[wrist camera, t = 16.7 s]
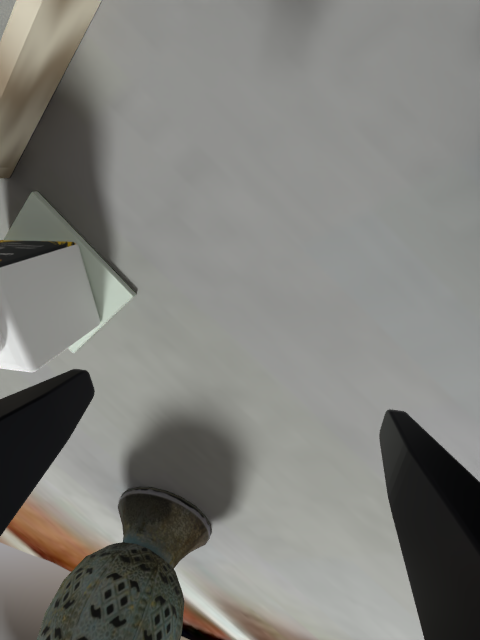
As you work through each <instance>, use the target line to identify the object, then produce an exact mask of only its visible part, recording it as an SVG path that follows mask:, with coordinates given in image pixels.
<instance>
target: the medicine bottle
mask: <svg viewBox="0 0 480 640" xmlns="http://www.w3.org/2000/svg"><path fill="white" fill-rule="evenodd" d="M99 324H100V318H99V315H98V311H97V308H96V304H95V301H94V297H93V294H92V290H91V287H90V283H89V280H88V276H87V273H86V269H85V266H84V262H83V259H82V255H81V252H80V248H79V246H78V244H77V243H76V242H64V241H16V240H1V241H0V368H2V369H9V370H17V371H25V372H35V371H37V370H38V369H40V368H41V367H43V366H44V365H45V364H47V363H48V362H49V361H51V360H52V359H53V358H55V357H56V356H58V355H59V354H60V353H62V352H63V351H64V350H66V349H67V348H68V347H70V346H71V345H73V344H74V343H75V342H77V341H78V340H79V339H81V338H82V337H83V336H85V335H86V334H88V333H89V332H90V331H92V330H93V329H94V328H96V327H97V326H99Z"/></svg>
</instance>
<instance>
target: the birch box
mask: <svg viewBox="0 0 480 640" xmlns="http://www.w3.org/2000/svg"><path fill="white" fill-rule="evenodd" d="M101 1H102V0H16V3H15V5H14V8H13V10H12V13H11V16H10V18H9V21H8V23H7V26H6V28H5V31H4V34H3V36H2V39H1V41H0V178H10V176H11V174H12V173H13V171H14V169H15V167H16V165H17V163H18V161H19V159H20V157H21V155H22V153H23V151H24V149H25V147H26V146H27V144H28V142H29V140H30V138H31V136H32V134H33V132H34V130H35V128H36V126H37V124H38V122H39V121H40V119H41V117H42V115H43V113H44V111H45V109H46V107H47V105H48V103H49V101H50V99H51V97H52V95H53V94H54V92H55V90H56V88H57V86H58V84H59V82H60V80H61V78H62V76H63V74H64V72H65V70H66V69H67V67H68V65H69V63H70V61H71V59H72V57H73V55H74V53H75V51H76V49H77V47H78V45H79V43H80V42H81V40H82V38H83V36H84V34H85V32H86V30H87V28H88V26H89V24H90V22H91V20H92V18H93V17H94V15H95V13H96V11H97V9H98V7H99V5H100V3H101Z"/></svg>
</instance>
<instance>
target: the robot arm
mask: <svg viewBox="0 0 480 640" xmlns="http://www.w3.org/2000/svg"><path fill="white" fill-rule="evenodd" d="M94 392H95V391H94V387H93V384H92V381H91V378H90V375H89V373H88V372H87V371H86V370H80V369H73V370H70V371H68V372H66V373H63V374H61V375H58V376H56V377H53V378H51V379H49V380H46V381H44V382H41V383H39V384H36V385H34V386H32V387H29V388H27V389H24V390H22V391H19V392H17V393H15V394H12V395H10V396H7V397H5V398H2V399H0V536H1V535H2V533H3V532H4V530H5V529H6V528H7V526H8V525H9V523H10V522H11V520H12V519H13V518H14V516H15V515H16V513H17V512H18V511H19V509H20V508H21V506H22V505H23V503H24V502H25V501H26V499H27V498H28V496H29V495H30V494H31V492H32V491H33V489H34V488H35V487H36V485H37V484H38V482H39V481H40V479H41V478H42V477H43V475H44V474H45V472H46V471H47V470H48V468H49V467H50V465H51V464H52V462H53V461H54V460H55V458H56V457H57V455H58V454H59V453H60V451H61V450H62V448H63V447H64V445H65V444H66V442H67V441H68V439H69V438H70V436H71V434H72V433H73V431H74V429H75V428H76V426H77V424H78V423H79V421H80V419H81V417H82V416H83V414H84V412H85V411H86V409H87V407H88V405H89V404H90V402H91V400H92V399H93V396H94ZM379 437H380V446H381V453H382V460H383V466H384V473H385V480H386V487H387V493H388V499H389V503H390V508H391V512H392V516H393V519H394V523H395V527H396V531H397V535H398V539H399V543H400V547H401V550H402V554H403V558H404V562H405V566H406V570H407V574H408V577H409V581H410V585H411V589H412V593H413V597H414V601H415V604H416V608H417V612H418V616H419V620H420V624H421V628H422V631H423V635H424V639H425V640H480V482H479V481H478V480H477V479H476V478H475V477H474V476H473V475H472V474H471V473H470V472H468V471H467V470H466V469H465V468H464V467H463V466H462V465H461V464H460V463H459V462H458V461H457V460H456V459H455V458H454V457H453V456H452V455H450V454H449V453H448V452H447V451H446V450H445V449H444V448H443V447H442V446H441V445H440V444H439V443H438V442H437V441H436V440H435V439H434V438H432V437H431V436H430V435H429V434H428V433H427V432H426V431H425V430H424V429H423V428H422V427H421V426H420V425H419V424H418V423H417V422H415V421H414V420H413V419H412V418H411V417H410V416H409V415H408V414H407V413H406V412H404V411H398V410H387V411H386V413H385V416H384V419H383V423H382V426H381V429H380V435H379Z"/></svg>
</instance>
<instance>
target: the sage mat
mask: <svg viewBox="0 0 480 640" xmlns="http://www.w3.org/2000/svg"><path fill="white" fill-rule="evenodd" d="M4 240H16V241H64V242H76V243H77V244H78V246H79V248H80V252H81V255H82V259H83V262H84V266H85V269H86V273H87V276H88V280H89V283H90V287H91V290H92V294H93V297H94V301H95V304H96V308H97V311H98V315H99V318H100V324H99V326H97V327H96V328H94V329H93V330H92V331H90V332H89V333H88V334H86V335H85V336H83V337H82V338H81V339H79V340H78V341H77V342H75V343H74V344H73V345H71V346H70V347H68V349H69V350H70V351H71V352H72V353H74V352H76V351H77V350H78V349H79V348H80V347H81V346H82V345H83V344H84V343H85V342H87V341H88V340H89V339H90V338H91V337H92V336H93V335H94V334H95V333H96V332H97V331H98V330H99V329H100V328H101V327H102V326H103V325H104V324H106V323H107V322H108V321H109V320H110V319H111V318H112V317H113V316H114V315H115V314H116V313H117V312H118V311H119V310H120V309H121V308H122V307H123V306H124V305H126V304H127V303H128V302H129V301H130V300H131V299H132V298H133V297H134V296H135V295H136V293H135V292H134V291H133V290H132V289H131V288H130V287H129V286H128V285H127V284H126V283H125V282H124V281H123V280H122V279H121V278H120V276H119V275H118V274H117V273H116V272H115V271H114V270H113V269H112V268H111V267H110V266H109V265H108V264H107V263H106V262H105V261H104V260H103V259H102V258H101V257H100V256H99V255H98V254H97V253H96V252H95V251H94V250H93V248H92V247H91V246H90V245H89V244H88V243H87V242H86V241H85V240H84V239H83V238H82V237H81V236H80V235H79V234H78V233H77V232H76V231H75V230H74V229H73V228H72V227H71V226H70V225H69V224H68V223H67V221H66V220H65V219H64V218H63V217H62V216H61V215H60V214H59V213H58V212H57V211H56V210H55V209H54V208H53V207H52V206H51V205H50V204H49V203H48V202H47V201H46V200H45V199H44V198H43V197H42V196H41V194H40V193H39V192H38V191H35V192H31V194H30V195H29V197H28V199H27V201H26V202H25V204H24V206H23V207H22V209H21V211H20V213H19V214H18V216H17V218H16V219H15V221H14V223H13V225H12V226H11V228H10V230H9V231H8V233H7V235H6V237H5V238H4Z"/></svg>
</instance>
